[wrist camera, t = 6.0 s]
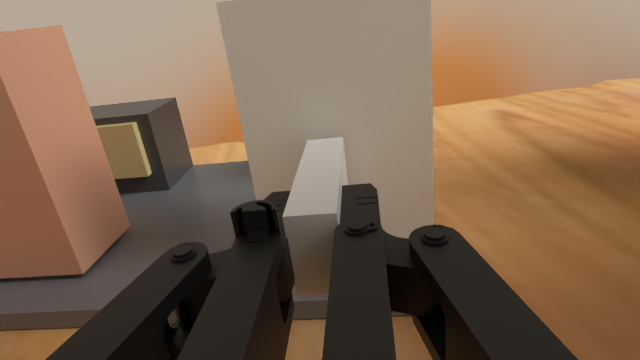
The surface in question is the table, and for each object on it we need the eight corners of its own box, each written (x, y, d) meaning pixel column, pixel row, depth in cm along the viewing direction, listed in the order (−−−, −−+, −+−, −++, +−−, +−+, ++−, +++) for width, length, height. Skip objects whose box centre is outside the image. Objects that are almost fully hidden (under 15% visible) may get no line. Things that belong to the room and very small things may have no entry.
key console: (106, 183, 38) (79, 107, 35) (409, 158, 35) (405, 72, 32) (-92, 333, 21) (-173, 212, 19) (456, 313, 18) (458, 161, 15)
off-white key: (285, 215, 25) (247, 0, 21) (420, 206, 24) (413, -22, 20) (269, 264, 21) (216, 2, 16) (434, 255, 20) (430, -27, 15)
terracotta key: (16, 233, 28) (-74, 43, 23) (130, 225, 27) (61, 25, 22) (-51, 281, 23) (-181, 56, 18) (83, 274, 22) (-17, 34, 17)
